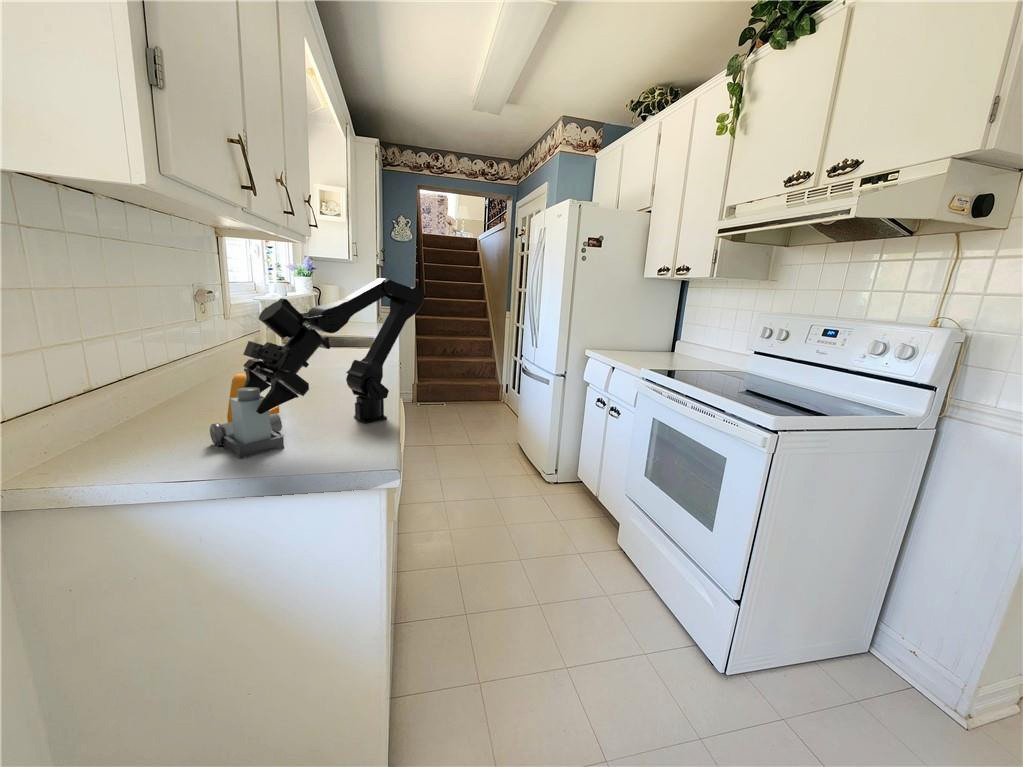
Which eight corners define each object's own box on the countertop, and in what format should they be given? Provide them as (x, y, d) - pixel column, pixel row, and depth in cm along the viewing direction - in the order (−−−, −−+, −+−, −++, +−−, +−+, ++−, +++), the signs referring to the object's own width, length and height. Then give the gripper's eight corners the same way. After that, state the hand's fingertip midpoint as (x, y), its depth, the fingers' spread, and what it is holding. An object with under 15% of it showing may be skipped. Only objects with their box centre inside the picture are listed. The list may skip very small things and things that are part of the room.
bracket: (258, 428, 102) (254, 380, 100) (228, 426, 102) (223, 378, 100) (281, 414, 113) (277, 371, 110) (253, 413, 113) (249, 369, 110)
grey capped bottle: (261, 441, 94) (256, 385, 91) (272, 447, 91) (267, 389, 88) (235, 447, 90) (229, 389, 87) (245, 454, 87) (240, 394, 84)
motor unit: (273, 428, 102) (271, 409, 101) (300, 443, 95) (299, 422, 94) (211, 442, 92) (208, 421, 91) (236, 459, 84) (234, 437, 83)
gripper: (249, 323, 94) (196, 378, 88) (290, 332, 83) (233, 395, 77) (287, 354, 102) (242, 406, 96) (329, 366, 91) (281, 426, 85)
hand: (248, 408), depth 88 cm, fingers open, 9 cm apart
